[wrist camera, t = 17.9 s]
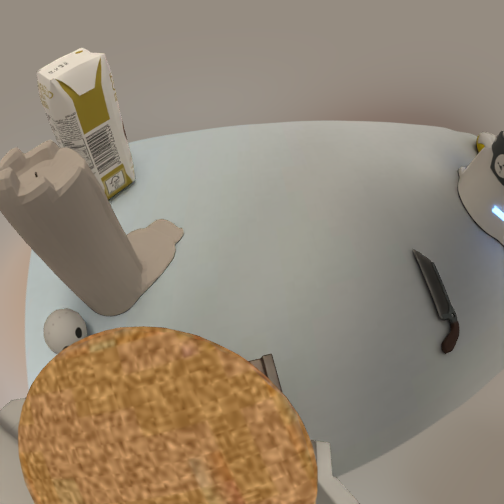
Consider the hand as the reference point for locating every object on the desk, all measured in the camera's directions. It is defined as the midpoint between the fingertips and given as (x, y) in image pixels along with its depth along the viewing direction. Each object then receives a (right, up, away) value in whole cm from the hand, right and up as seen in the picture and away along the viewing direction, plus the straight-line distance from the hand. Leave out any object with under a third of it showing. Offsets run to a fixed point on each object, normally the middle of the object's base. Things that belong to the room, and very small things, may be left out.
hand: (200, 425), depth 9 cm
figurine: (-16, -3, +17) cm, 24 cm away
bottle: (-1, -5, +7) cm, 9 cm away
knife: (+24, 0, +22) cm, 33 cm away
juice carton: (-19, +16, +28) cm, 37 cm away
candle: (-11, +5, +22) cm, 25 cm away
